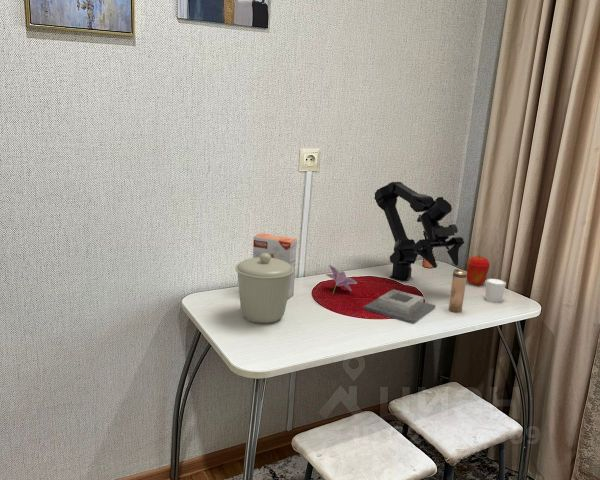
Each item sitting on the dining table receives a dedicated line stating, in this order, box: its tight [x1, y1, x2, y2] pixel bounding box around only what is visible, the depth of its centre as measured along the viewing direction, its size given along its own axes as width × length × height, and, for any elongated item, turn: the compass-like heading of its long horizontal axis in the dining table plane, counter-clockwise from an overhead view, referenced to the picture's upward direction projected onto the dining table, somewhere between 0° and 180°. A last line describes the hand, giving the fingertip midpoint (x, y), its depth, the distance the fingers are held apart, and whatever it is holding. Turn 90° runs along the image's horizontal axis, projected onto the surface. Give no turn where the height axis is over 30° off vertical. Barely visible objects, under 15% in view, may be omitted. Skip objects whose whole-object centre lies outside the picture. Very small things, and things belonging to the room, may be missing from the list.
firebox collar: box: [363, 288, 436, 325], centre depth 195 cm, size 18×18×4 cm
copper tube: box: [448, 268, 467, 314], centre depth 195 cm, size 4×4×14 cm
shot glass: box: [484, 278, 507, 303], centre depth 208 cm, size 7×7×7 cm
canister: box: [234, 253, 294, 324], centre depth 179 cm, size 18×18×21 cm
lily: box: [325, 264, 358, 295], centre depth 207 cm, size 12×12×10 cm
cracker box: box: [252, 232, 298, 301], centre depth 199 cm, size 14×6×21 cm, turn 68°
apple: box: [466, 254, 490, 286], centre depth 224 cm, size 9×8×12 cm
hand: (446, 266), depth 201 cm, fingers open, 9 cm apart
